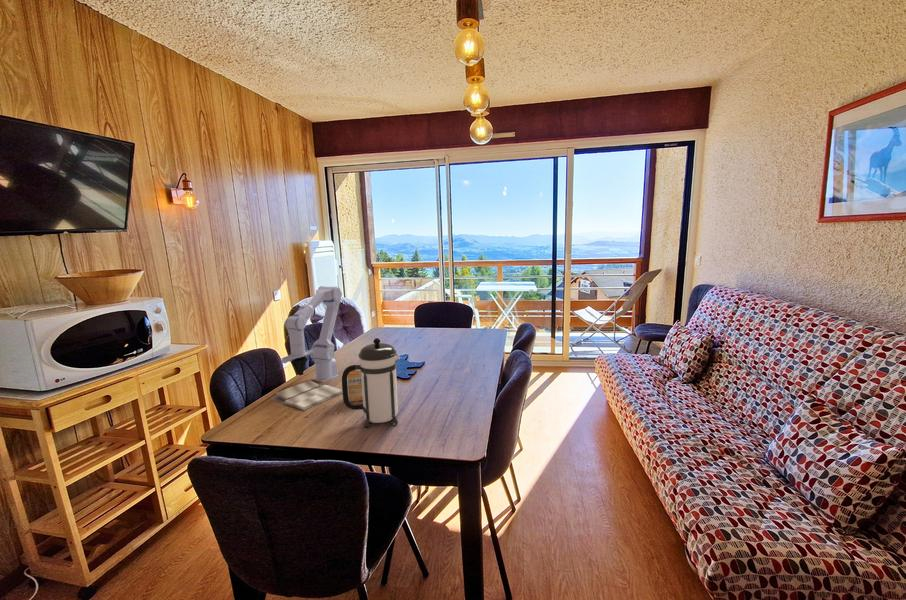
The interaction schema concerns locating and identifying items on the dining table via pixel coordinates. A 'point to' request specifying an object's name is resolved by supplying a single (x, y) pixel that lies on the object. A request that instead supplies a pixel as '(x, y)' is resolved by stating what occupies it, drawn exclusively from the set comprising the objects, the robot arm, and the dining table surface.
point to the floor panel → (311, 397)
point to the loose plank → (297, 390)
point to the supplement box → (355, 386)
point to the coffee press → (375, 383)
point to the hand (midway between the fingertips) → (300, 374)
